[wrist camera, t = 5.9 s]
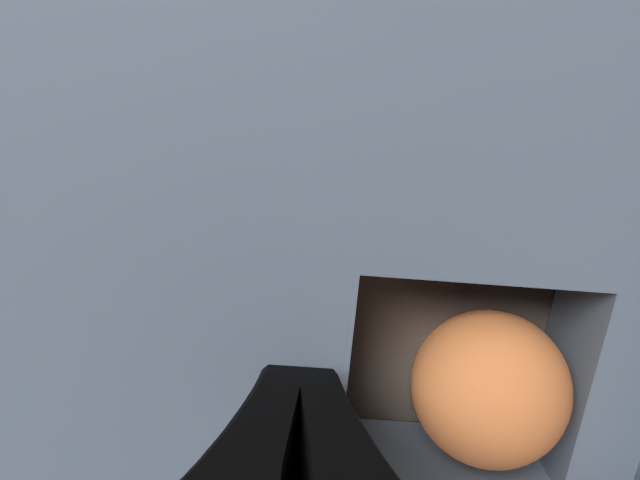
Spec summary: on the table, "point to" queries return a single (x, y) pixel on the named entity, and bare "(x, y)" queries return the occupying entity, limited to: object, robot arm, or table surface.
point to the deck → (302, 211)
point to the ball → (491, 390)
